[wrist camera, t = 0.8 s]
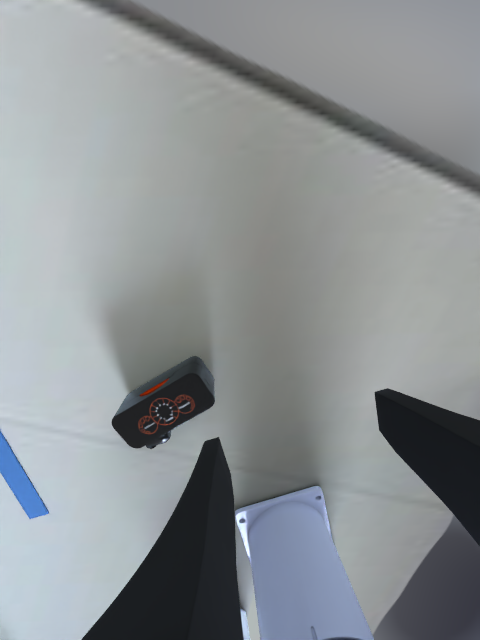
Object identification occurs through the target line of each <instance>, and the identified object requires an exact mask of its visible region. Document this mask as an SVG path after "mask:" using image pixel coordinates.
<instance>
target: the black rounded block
mask: <svg viewBox="0 0 480 640" xmlns="http://www.w3.org/2000/svg"><path fill="white" fill-rule="evenodd" d="M214 402H215V391H214V378H213V375H212V374H211V372H210V371H209V370H208V368H207V367H206V365H205V364H204V362H203V361H202V359H201V358H199V357H197V356H192V357H190V358H188V359H186V360H185V361H183V362H181V363H180V364H178V365H176V366H174V367H173V368H171V369H169V370H168V371H166V372H164V373H163V374H161V375H159V376H157V377H156V378H154V379H152V380H151V381H149V382H147V383H146V384H144V385H142V386H140V387H139V388H137V389H135V390H134V391H132V392H130V393H129V394H128V395H127V396H126V398H125V399H124V401H123V403H122V404H121V406H120V408H119V409H118V411H117V413H116V414H115V416H114V418H113V419H112V426H113V428H114V429H115V430H116V431H117V432H118V433H119V435H120V436H121V437H122V438H123V439H124V440H125V441H126V443H127V444H128V445H129V446H131V447H133V448H141V447H143V446H145V445H146V447H147V448H150V449H152V448H154V447H156V445H158V444H162V443H165V442H167V441H168V440H169V439H170V436H171V430H173V429H174V428H176V427H178V426H180V425H181V424H183V423H185V422H187V421H188V420H190V419H192V418H193V417H195V416H197V415H199V414H200V413H202V412H204V411H206V410H207V409H209V408H211V407H212V406H213V404H214Z"/></svg>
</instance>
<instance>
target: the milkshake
mask: <svg viewBox="0 0 480 640" xmlns="http://www.w3.org/2000/svg"><path fill="white" fill-rule="evenodd" d="M240 611H241V620H242V629H243V638H244V640H250V635H249V628H248V621H247V616H246V611H244V610H242V609H241V608H240Z"/></svg>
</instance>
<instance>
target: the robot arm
mask: <svg viewBox="0 0 480 640" xmlns="http://www.w3.org/2000/svg"><path fill="white" fill-rule="evenodd" d="M375 400H376V408H377V416H378V424H379V430H380V432H381V433H382V434H383V436H384V437H385V439H386V440H387V441H388V443H389V444H390V445H391V446H392V448H393V449H394V450H395V452H396V453H397V454H398V455H399V456H400V457H401V458H402V459H403V460H404V461H405V462H406V463H407V464H408V466H409V467H410V468H411V469H412V470H413V471H414V472H415V473H416V474H417V475H418V476H419V477H420V478H421V479H422V480H423V481H424V482H425V483H426V484H427V486H428V487H429V488H430V489H431V490H432V491H433V492H434V493H435V494H436V495H437V496H438V497H439V498H440V499H441V500H442V501H443V503H444V504H445V505H446V506H447V507H448V508H449V509H450V510H451V511H452V513H453V514H454V515H455V516H456V518H457V519H458V520H459V521H460V522H461V524H462V525H463V526H464V527H465V529H466V530H467V531H468V532H469V534H470V535H471V536H472V537H473V538H474V540H475V541H476V542H477V543H478V545H479V546H480V420H477V419H474V418H470V417H467V416H464V415H461V414H458V413H455V412H452V411H449V410H446V409H443V408H440V407H437V406H435V405H432V404H429V403H426V402H424V401H421V400H418V399H416V398H413V397H410V396H408V395H405V394H402V393H400V392H397V391H394V390H391V389H388V388H387V389H384V390H380V391H377V392H375ZM235 519H236V522H237V525H238V528H239V531H240V534H241V537H242V540H243V543H244V546H245V549H246V552H247V555H248V558H249V561H250V564H251V568H252V576H253V584H254V592H255V600H256V608H257V616H258V624H259V632H260V640H374V638H373V635H372V633H371V631H370V628H369V626H368V623H367V621H366V619H365V616H364V614H363V612H362V609H361V607H360V604H359V602H358V600H357V597H356V595H355V593H354V590H353V588H352V585H351V583H350V581H349V578H348V576H347V574H346V571H345V569H344V566H343V564H342V562H341V559H340V557H339V555H338V552H337V550H336V548H335V545H334V543H333V540H332V535H331V530H330V525H329V520H328V516H327V511H326V506H325V501H324V496H323V492H322V489H321V487H319V486H313V487H310V488H307V489H303V490H300V491H296V492H293V493H290V494H286V495H283V496H280V497H276V498H273V499H270V500H266V501H263V502H260V503H256V504H253V505H250V506H246V507H243V508H239V509H237V510H236V511H234V495H233V487H232V480H231V473H230V470H229V467H228V464H227V461H226V458H225V455H224V452H223V449H222V446H221V442H220V439H219V437H218V438H214V439H211V440H207V441H205V442H204V444H203V447H202V450H201V452H200V455H199V458H198V460H197V463H196V465H195V468H194V470H193V472H192V475H191V477H190V479H189V482H188V484H187V486H186V488H185V490H184V492H183V494H182V496H181V498H180V500H179V502H178V504H177V506H176V508H175V510H174V512H173V514H172V516H171V518H170V519H169V521H168V523H167V525H166V526H165V528H164V530H163V531H162V533H161V535H160V536H159V538H158V540H157V541H156V543H155V544H154V546H153V547H152V549H151V550H150V552H149V554H148V555H147V557H146V558H145V560H144V561H143V562H142V564H141V565H140V567H139V568H138V570H137V571H136V572H135V574H134V575H133V576H132V578H131V579H130V580H129V582H128V583H127V584H126V586H125V587H124V588H123V590H122V591H121V592H120V594H119V595H118V596H117V598H116V599H115V600H114V601H113V603H112V604H111V605H110V606H109V608H108V609H107V610H106V611H105V613H104V614H103V615H102V616H101V617H100V618H99V620H98V621H97V622H96V623H95V624H94V625H93V627H92V628H91V629H90V630H89V631H88V633H87V634H86V635H85V636H84V637H83V638H82V640H244V638H243V629H242V620H241V611H240V602H239V592H238V583H237V570H236V543H235Z"/></svg>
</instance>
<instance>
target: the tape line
mask: <svg viewBox="0 0 480 640" xmlns="http://www.w3.org/2000/svg"><path fill="white" fill-rule="evenodd" d="M0 472H1V474H2V476H3V477H4V479H5V480H6V482H7V484H8V485H9V487H10V488H11V490H12V491H13V493H14V495H15V496H16V498H17V499H18V501H19V503H20V504H21V506H22V507H23V509H24V511H25V512H26V514H27V515H28V517H29V519H31V518H35V517H38V516H42V515H45V514H48V513H49V512H48V510H47V509H46V507H45V505H44V504H43V502H42V500H41V499H40V497H39V495H38V494H37V492H36V490H35V488H34V487H33V485H32V483H31V482H30V480H29V478H28V477H27V475H26V473H25V472H24V470H23V468H22V467H21V465H20V463H19V462H18V460H17V458H16V457H15V455H14V453H13V451H12V450H11V448H10V446H9V445H8V443H7V441H6V440H5V438H4V436H3V435H2V433H1V431H0Z"/></svg>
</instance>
